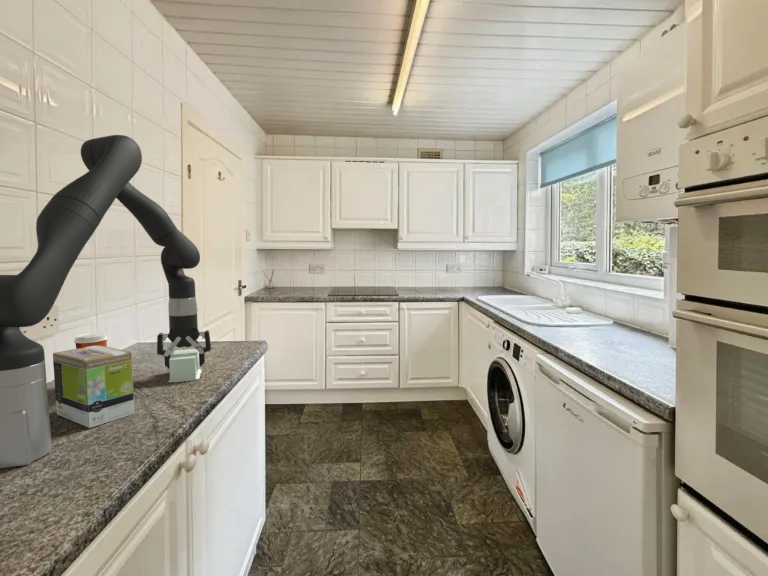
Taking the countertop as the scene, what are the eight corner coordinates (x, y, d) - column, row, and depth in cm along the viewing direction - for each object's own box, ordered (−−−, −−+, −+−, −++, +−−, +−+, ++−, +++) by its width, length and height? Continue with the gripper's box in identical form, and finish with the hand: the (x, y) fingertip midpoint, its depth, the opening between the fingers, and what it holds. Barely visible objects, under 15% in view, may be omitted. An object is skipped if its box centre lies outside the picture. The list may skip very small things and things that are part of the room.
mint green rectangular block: (195, 380, 120) (194, 357, 120) (170, 382, 118) (169, 359, 118) (199, 369, 131) (198, 348, 131) (176, 371, 129) (175, 350, 129)
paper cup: (93, 390, 112) (90, 338, 111) (69, 388, 113) (66, 337, 112) (117, 381, 120) (114, 332, 118) (95, 379, 121) (91, 331, 120)
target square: (199, 379, 121) (199, 378, 121) (168, 382, 119) (168, 381, 119) (201, 369, 131) (201, 369, 131) (173, 372, 128) (173, 371, 128)
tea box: (136, 413, 97) (133, 350, 95) (88, 430, 88) (83, 361, 87) (102, 401, 104) (98, 342, 103) (55, 415, 96) (50, 351, 94)
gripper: (153, 316, 117) (156, 372, 119) (208, 313, 122) (210, 368, 123) (158, 312, 124) (160, 365, 126) (210, 309, 129) (212, 361, 130)
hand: (185, 366), depth 125 cm, fingers open, 8 cm apart
